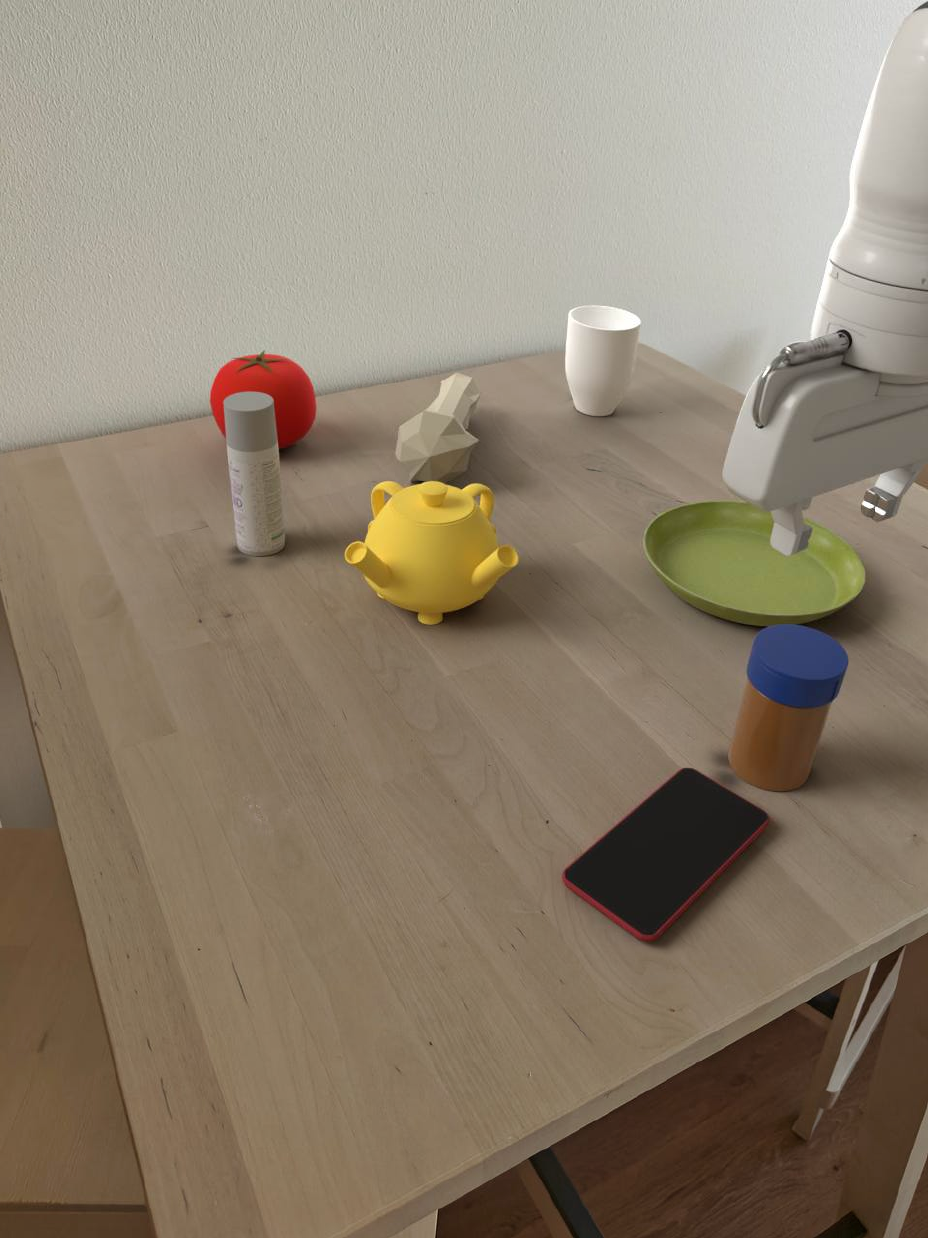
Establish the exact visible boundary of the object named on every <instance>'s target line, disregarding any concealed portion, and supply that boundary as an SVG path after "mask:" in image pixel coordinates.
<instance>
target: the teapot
mask: <svg viewBox="0 0 928 1238" xmlns="http://www.w3.org/2000/svg"><path fill="white" fill-rule="evenodd" d="M385 493H387V494H389V495H390V496H391V497H390V498H389V499H388V500H387V502H386V501H385ZM479 495H480V500H479V503H477V501H476V499H474V498H476V497H477V496H479ZM370 504H371V510H372V515H373V519H372V520H371V521H370V522H369V523H368V526H367V534H366V535H365V539H364V542H363V541H360V540H357V541H354V542H351V543H350V544H349V545H348V546H347V547H346V548H345V551H344V559H345V561H346V562H347V563H349V565H351V566H352V567H353V568H355V569H356V570H357V571H358V572H359V573H361V574H362V575H363V577H364V579H365V581H366V582H367V584H368V585H369V586H370V587H371V588H372V590H374V592H376V595H377V596H378V597H379V598H381V599H383V600H386V601H387V602H389V603H390V604H392V605H394V606H396V607H398V608H401V609H404V610H407V611H411V612H416V613H417V620H418V621H419V622H420V623H422V624H423V625H429V626H432V625H437V624H439V623H441V622H442V621H443V613H449V612H454V611H459V610H461V609H464V608H466V607H468V606H470V605H472V604H474V603H475V602H478V601H480V600H482V599H483V598H484V597H485V595H486V594H487V593H489V592H490V590H492V589H493V588H494V587H495V585H496V584H497V581H498V580H499V578H501V577H502V576H504V575H505V574H506V573H508V572H509V571H510V570H512V569H513V568H515V567H516V566H517V565H518V563H519V561H520V560H519V559H520V558H519V553H518V552H517V550H516V549H515V548H514V547H513V546H511V545H508V544H502V545H500V546H499V541H498V538H497V530H496V527H495V525H494V524H493V523H492V522H490V521H491V519H492V514H493V511H494V505H495V496H494V493H493V491H492V490H491V488H489V487H488V486H486V485H485V484H482V483H471V484H467V486H465V487H464V488H462V489H461V488H459V487H456V486H453V485H449V484H446V483H445V484H444V483H441V482H437V481H428V482H424V481H423V482H422V483H418V484H413V485H410V486H407V487H403V486H402V485H400V484H399V483H398V482H395V481H391V480H386V481H382V482H380V483H378V484H377V485H375V486H374V487H373V489H372V490H371V493H370Z"/></svg>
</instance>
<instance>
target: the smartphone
mask: <svg viewBox="0 0 928 1238" xmlns="http://www.w3.org/2000/svg"><path fill="white" fill-rule="evenodd" d="M769 824H770V816H769V813H767V811H766V810H764V809H762V808H761V807H760V806H758V805H756V804H754V803H753V802H751V801H749V800H748V799H746V798H745V797H743V796H741V795H739V794H738V793H736V792H734V791H733V790H731V789H729V788H728V787H726V786H724V785H722V784H721V783H719V782H718V781H716V780H714V779H712V778H710V777H709V776H707V775H705V774H704V773H702V772H700V771H699V770H698V769H695V768H693V767H682V768H680V769H678V770H677V771H676V772H675V773H674V774H673V775H672V776H670V777H669V778H668V779H667V780H666V781H664V783H662V784H661V785H660V786H659V787H658V788H657V789H655V790H654V791H653V792H652V793H651V794H649V796H647V797H646V798H645V799H644V800H642V801H641V803H639V804H638V805H637V806H635V808H634V809H632V810H631V811H630V812H629V813H628V814H626V816H624V817H623V818H621V820H620V821H618V822H617V823H616V824H615V825H614V826H613V827H611V828H610V829H609V830H608V831H606V833H604V834H603V835H601V837H600V838H599V839H597V840H596V841H595V842H594V843H593V844H592V845H591V846H589V847H588V848H587V849H586V850H585V851H584V852H582V853H581V854H580V855H579V856H578V857H577V858H575V859H574V860H573V861H572V862H571V863H570V864H568V866H567V867H565V868H564V869H563V871H562V874H561V880H562V883H563V885H564V886H565V887H566V888H568V890H570V891H571V892H573V893H574V894H575V895H577V896H578V897H580V898H581V899H582V900H584V901H585V902H586V903H588V904H589V905H590V906H592V907H593V908H594V909H596V910H597V911H598V912H600V913H601V914H603V915H604V916H606V917H607V918H608V919H609V920H611V921H612V922H614V923H615V924H616V925H618V926H619V927H621V928H622V929H623V930H625V931H626V932H627V933H629V934H630V935H631V936H632V937H634V938H636V939H637V940H638V941H641V942H644V943H650V942H653V941H655V940H657V939H658V938H659V937H660V936H661V935H662V934H663V933H664V932H665V931H666V930H667V929H668V928H669V926H671V925H672V924H673V923H674V922H675V920H677V918H679V917H680V915H682V913H683V912H684V911H686V909H687V908H688V907H690V905H691V904H693V902H694V901H695V900H696V899H697V898H698V897H699V896H700V895H701V894H702V893H703V892H704V891H705V890H706V889H707V888H708V887H709V886H710V885H711V884H712V883H713V882H714V881H715V880H716V879H717V878H718V877H719V876H720V875H721V874H722V873H723V872H724V871H725V870H726V869H727V868H728V867H729V866H730V865H731V864H732V863H733V862H734V861H735V860H736V859H737V858H738V857H739V856H740V855H741V854H742V853H743V852H744V851H745V850H746V849H747V847H748V846H749V845H751V843H752V842H753V841H754V840H756V838H757V837H758V836H759V835H760V834H761V833H762V832H763V831H764V830H765V829H766V828H767V827H768V826H769Z"/></svg>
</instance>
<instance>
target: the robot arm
mask: <svg viewBox="0 0 928 1238" xmlns="http://www.w3.org/2000/svg"><path fill="white" fill-rule="evenodd" d="M825 267H826V268H825V271H824V275H823V280H822V284H821V287H820V291H819V295H818V299H817V302H816V307H815V311H814V315H813V320H812V323H811V327H810V331H809V339H810V340H807V341H804V340H799V341H794V342H793V341H792V342H790V343H788V344H786V345H784V346H783V347H781V349H780V350H779V354H778V355H777V356H775V357H774V358H773V359H772V360H771V361H770V362H769V363H768V365H767V366H765V367H763V368H762V369H761V371H760V372H759V373H758V376H757V377H756V378H755V379H754V381H753V382H752V384H751V385H750V387H749V389H748V391H747V394H746V396H745V398H744V400H743V403H742V406H741V408H740V411H739V414H738V416H737V419H736V422H735V426H734V429H733V432H732V435H731V438H730V442H729V445H728V448H727V452H726V455H725V459H724V462H723V467H722V473H721V477H722V480H723V482H724V485H725V487H726V489H727V490H728V491H729V493H731V494H732V495H733V496H735V497H737V498H738V499H740V500H742V501H743V502H746V503H749V504H751V505H752V506H754V507H756V508H758V509H760V510H762V511H766V512H769V511H771V514H772V517H773V521H774V522H775V523H774V527H773V531H772V535H771V539H770V543H771V546H772V547H773V548H774V549H775V550H777V551H779V552H780V553H782V554H784V555H785V556H790V555H793V554H795V553H798V552H800V551H803V550H805V549H806V548H807V547H808V544H809V543H808V540H809V539H810V537H811V533H812V530H813V528H812V527H810V526H809V525H807V524H805V523H804V522H803V517H804V516H803V511H806V510H809V508H810V506H811V503H812V500H813V498H814V497H815V498H816V497H817V496H820V495H823V494H827V493H829V492H832V491H836V490H838V489H841V488H844V487H846V486H850V485H853V484H856V483H859V482H862V481H865V480H867V479H871V478H873V477H877V476H878V478H877V480H876V482H875V483H874V485H873V486H871V487H869V488H866V489H865V493H864V496H863V502H862V503H861V506H860V512H861V514H862V515H863V516H865V517H866V518H870V519H871V520H872V521H874V522H876V523H879V522H883V521H886V520H888V519H891V518H894V517H896V515H897V514H898V512H899V509H900V507H901V506H900V505H901V503H902V500H903V496H904V495H906V493H907V492H908V491H909V490H910V489H911V487H912V485H913V484H914V483H915V481H916V480H917V479H918V478H919V476H920V474H921V473H922V472H923V471H924V468H925V466H926V463H927V460H928V0H927V1H925V2H923V3H922V4H921V5H919V6H918V7H916V9H914V10H913V12H911V13H910V14H909V15H907V16H906V17H905V18H904V20H903V21H902V22H901V24H900V25H899V27H898V28H897V30H896V32H895V34H894V35H893V38H892V40H891V42H890V44H889V47H888V48H887V51H886V54H885V56H884V58H883V61H882V63H881V66H880V70H879V72H878V75H877V78H876V81H875V83H874V87H873V89H872V92H871V95H870V98H869V101H868V105H867V108H866V112H865V114H864V118H863V122H862V125H861V129H860V132H859V136H858V139H857V143H856V147H855V150H854V153H853V158H852V162H851V166H850V171H849V203H848V210H847V213H846V216H845V219H844V222H843V225H842V227H841V229H840V230H839V233H838V234H837V235H836V237H835V239H834V241H833V243H832V246H831V248H830V251H829V255H828V259H827V262H826V266H825Z"/></svg>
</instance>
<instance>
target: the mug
mask: <svg viewBox="0 0 928 1238" xmlns="http://www.w3.org/2000/svg"><path fill="white" fill-rule="evenodd" d="M567 315H568V318H567V329H566V331H567V332H566V342H565V343H566V344H565V356H564V357H565V359H564V360H565V361H564V364H565V365H564V370H565V376H566V377H565V378H566V380H567V384H568V389H569V391H570V394H571V397H572V401H573V404H574V407H575V409H576V410H577V411H578V412H580V413H581V414H584V415H587V416H592V417H606V416H610V415H612V414H613V413H614V412H615V410H616V408H617V407H618V405H619V403H620V402H621V400H622V398H623V397H624V395H625V393H626V391H627V390H628V388H629V387H630V385H631V382H632V380H633V378H634V377H633V376H634V372H635V367H636V360H637V353H638V346H639V339H640V338H639V337H640V330H641V318H639V317H638V316H637V315H636V314H634V313H633V312H630V311H628V310H625V309H621V308H618V307H614V306H607V305H582V306H577V307H575V308H573V309H571V310H569V312H568V314H567Z"/></svg>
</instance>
